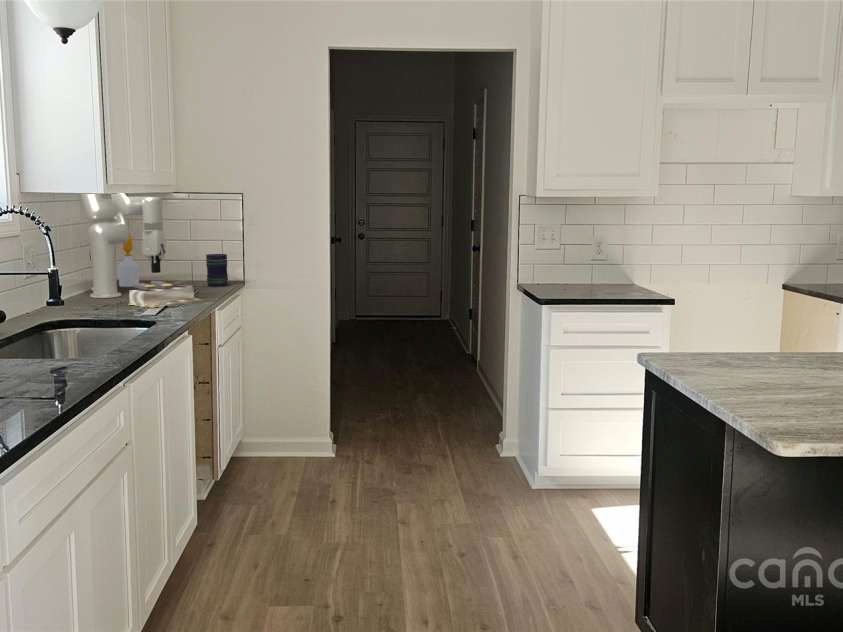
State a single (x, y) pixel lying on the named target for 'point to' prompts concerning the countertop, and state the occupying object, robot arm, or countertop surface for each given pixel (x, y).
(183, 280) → the rocker
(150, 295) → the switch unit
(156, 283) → the rocker middle
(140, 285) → the rocker
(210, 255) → the storage jar
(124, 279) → the soap bottle
